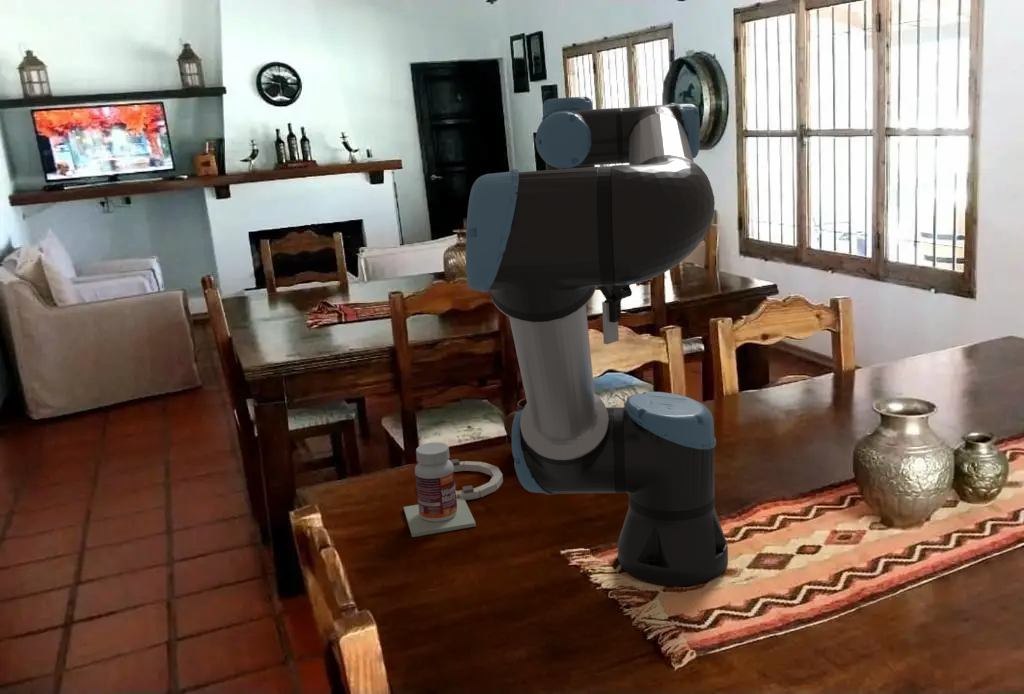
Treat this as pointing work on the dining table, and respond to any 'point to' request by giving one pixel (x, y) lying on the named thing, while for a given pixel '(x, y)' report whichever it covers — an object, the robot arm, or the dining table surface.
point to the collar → (482, 490)
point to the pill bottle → (435, 482)
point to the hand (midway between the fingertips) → (578, 336)
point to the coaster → (427, 527)
